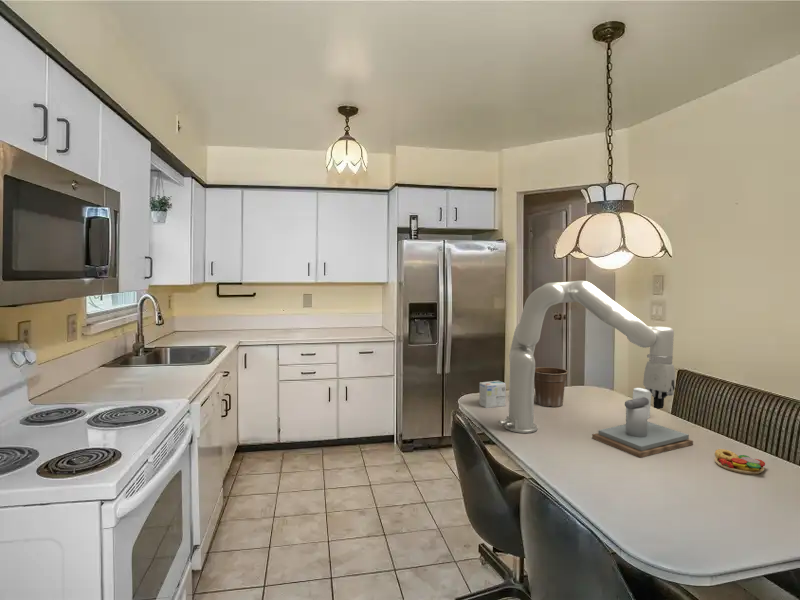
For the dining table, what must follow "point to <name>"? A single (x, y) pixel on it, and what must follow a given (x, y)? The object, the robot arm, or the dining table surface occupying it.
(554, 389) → the plant pot
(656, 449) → the walnut base
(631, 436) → the tilting top
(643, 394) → the skincare box
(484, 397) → the light bulb box
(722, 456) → the toy food set
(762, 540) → the dining table surface
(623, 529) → the dining table surface
